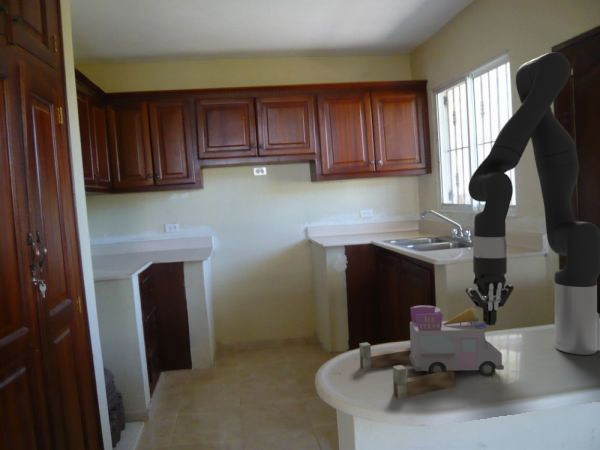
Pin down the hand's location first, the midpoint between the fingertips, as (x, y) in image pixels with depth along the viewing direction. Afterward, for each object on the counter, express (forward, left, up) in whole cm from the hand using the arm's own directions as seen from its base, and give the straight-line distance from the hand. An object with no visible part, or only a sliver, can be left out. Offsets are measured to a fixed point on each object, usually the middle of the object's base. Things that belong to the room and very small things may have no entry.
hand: (489, 324), depth 108 cm
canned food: (+9, -13, -9) cm, 19 cm away
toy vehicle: (+12, +2, -9) cm, 16 cm away
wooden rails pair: (+24, 0, -9) cm, 26 cm away
